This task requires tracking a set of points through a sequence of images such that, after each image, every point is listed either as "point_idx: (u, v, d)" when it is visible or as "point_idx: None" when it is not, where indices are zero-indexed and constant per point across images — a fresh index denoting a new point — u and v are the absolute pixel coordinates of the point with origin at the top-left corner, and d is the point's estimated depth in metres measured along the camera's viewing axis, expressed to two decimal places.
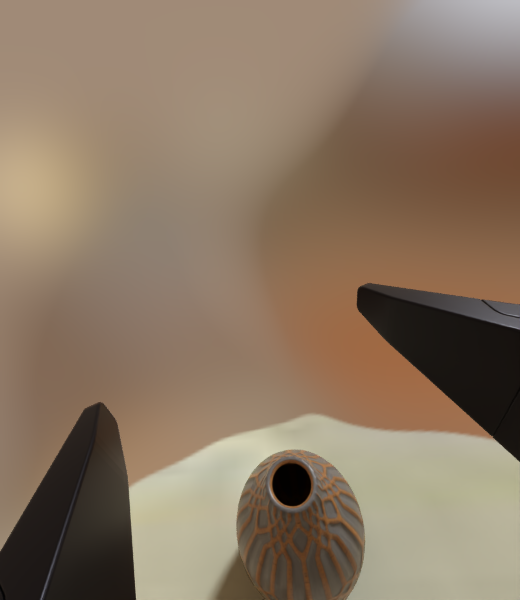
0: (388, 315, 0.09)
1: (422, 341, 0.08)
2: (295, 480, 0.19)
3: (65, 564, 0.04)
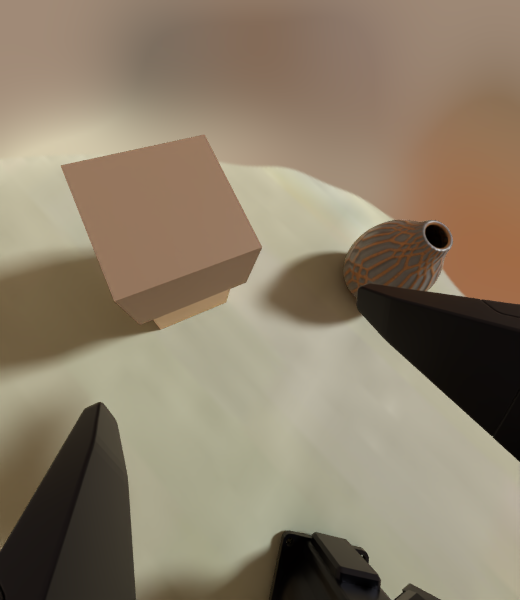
0: (388, 315, 0.09)
1: (422, 341, 0.08)
2: None
3: (65, 564, 0.04)
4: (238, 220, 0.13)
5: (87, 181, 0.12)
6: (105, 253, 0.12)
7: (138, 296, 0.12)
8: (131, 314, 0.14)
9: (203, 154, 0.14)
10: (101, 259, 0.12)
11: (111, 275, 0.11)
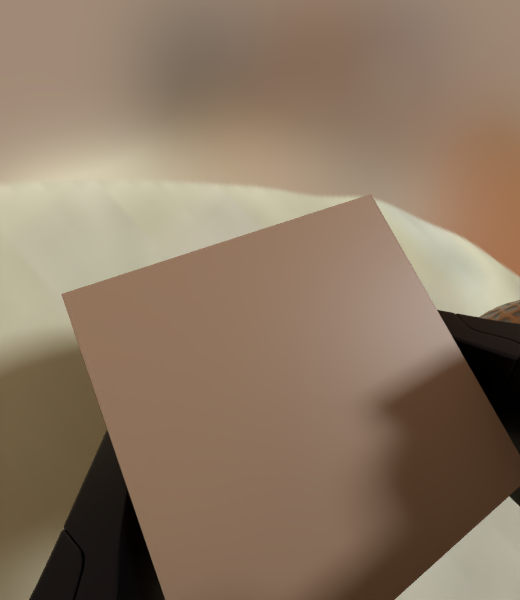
0: None
1: None
2: None
3: (132, 525, 0.05)
4: (471, 406, 0.06)
5: (130, 335, 0.05)
6: (184, 570, 0.04)
7: None
8: None
9: (376, 242, 0.06)
10: (174, 594, 0.04)
11: None
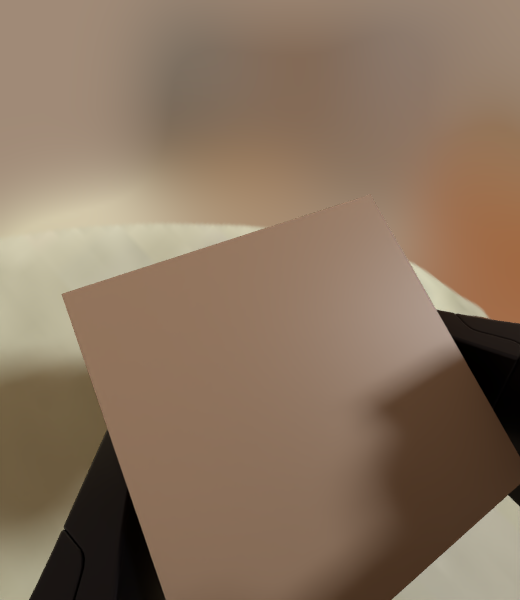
0: None
1: None
2: None
3: (132, 525, 0.05)
4: (470, 406, 0.06)
5: (130, 335, 0.05)
6: (184, 570, 0.04)
7: None
8: None
9: (375, 242, 0.06)
10: (174, 592, 0.04)
11: None
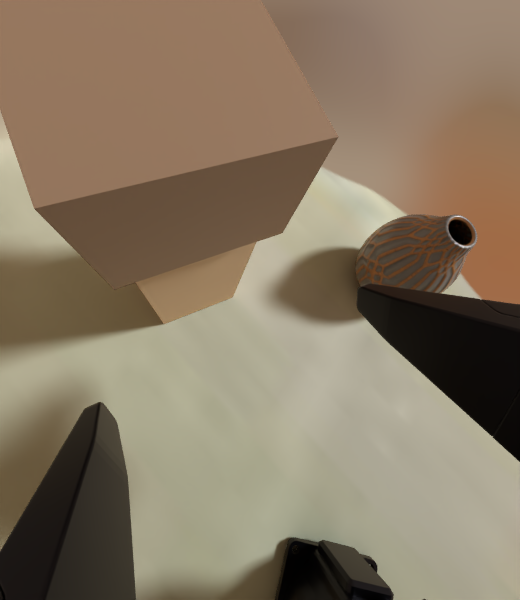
0: (388, 315, 0.09)
1: (422, 341, 0.08)
2: None
3: (65, 564, 0.04)
4: (293, 87, 0.07)
5: None
6: (23, 112, 0.05)
7: (93, 208, 0.06)
8: (91, 260, 0.07)
9: None
10: (13, 122, 0.05)
11: (32, 155, 0.05)
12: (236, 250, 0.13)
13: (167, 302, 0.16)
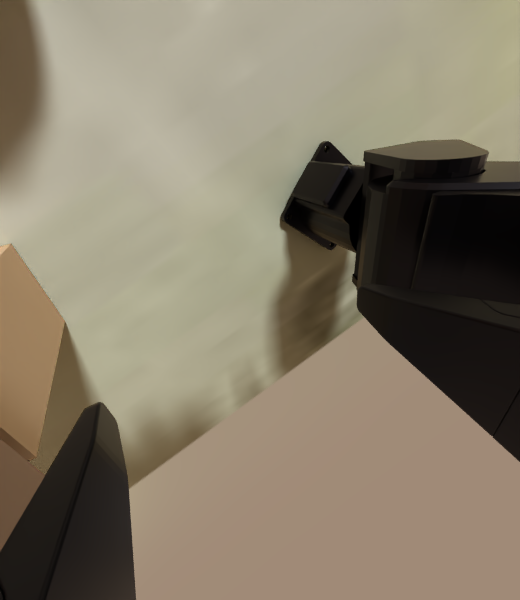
0: (388, 315, 0.09)
1: (422, 341, 0.08)
2: None
3: (65, 564, 0.04)
4: None
5: None
6: None
7: None
8: None
9: None
10: None
11: None
12: None
13: (45, 361, 0.14)
